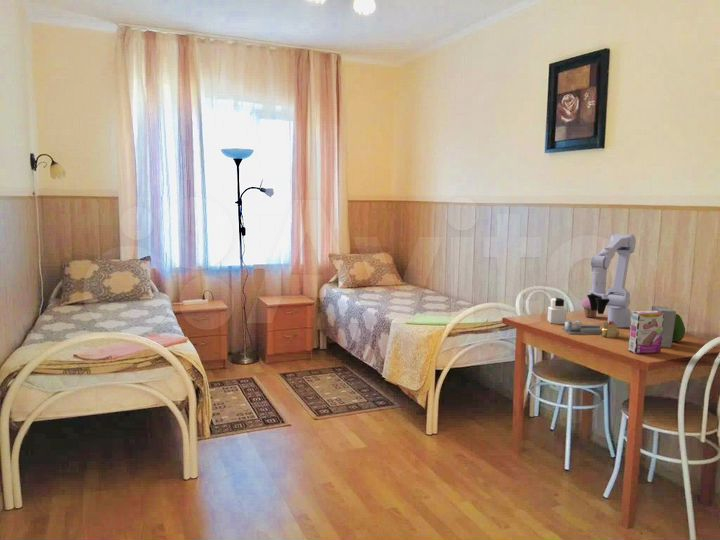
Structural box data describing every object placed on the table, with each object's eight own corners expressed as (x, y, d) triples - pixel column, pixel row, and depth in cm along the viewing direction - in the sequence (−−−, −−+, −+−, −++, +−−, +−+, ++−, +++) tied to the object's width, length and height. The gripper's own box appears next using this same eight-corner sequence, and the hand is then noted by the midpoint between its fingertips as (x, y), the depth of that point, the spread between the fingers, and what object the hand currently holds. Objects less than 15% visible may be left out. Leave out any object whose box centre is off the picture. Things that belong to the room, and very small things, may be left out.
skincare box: (646, 342, 232) (649, 305, 230) (663, 342, 232) (666, 305, 230) (656, 347, 224) (659, 309, 222) (674, 347, 224) (677, 309, 222)
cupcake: (600, 319, 276) (602, 299, 275) (582, 318, 278) (583, 299, 277) (597, 315, 285) (598, 296, 284) (579, 314, 287) (580, 296, 286)
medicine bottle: (561, 320, 272) (563, 297, 271) (565, 324, 265) (567, 300, 264) (547, 320, 273) (548, 297, 271) (550, 323, 266) (551, 299, 264)
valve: (615, 335, 244) (616, 320, 243) (619, 337, 240) (620, 322, 239) (599, 335, 244) (600, 320, 243) (603, 337, 240) (604, 322, 239)
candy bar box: (635, 354, 214) (638, 313, 212) (627, 350, 219) (630, 310, 217) (661, 353, 216) (664, 312, 214) (653, 349, 221) (656, 310, 218)
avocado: (672, 338, 239) (674, 311, 237) (688, 342, 232) (690, 315, 230) (658, 339, 236) (660, 312, 235) (674, 344, 229) (676, 316, 227)
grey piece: (597, 329, 255) (598, 318, 254) (607, 334, 245) (607, 323, 244) (561, 329, 255) (562, 318, 254) (569, 334, 245) (570, 323, 245)
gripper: (583, 279, 251) (582, 308, 253) (596, 284, 236) (594, 315, 238) (599, 279, 251) (597, 308, 252) (613, 284, 236) (611, 315, 238)
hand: (597, 312), depth 245 cm, fingers open, 7 cm apart
